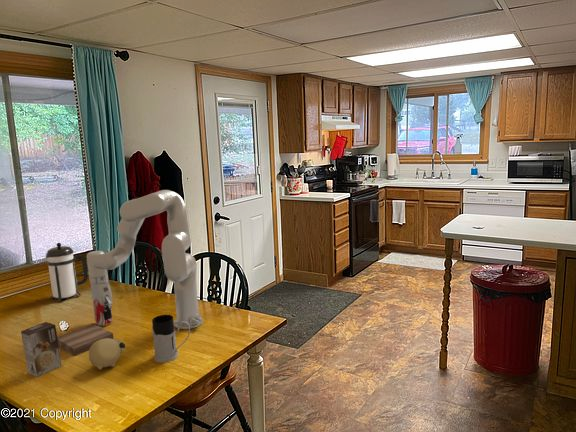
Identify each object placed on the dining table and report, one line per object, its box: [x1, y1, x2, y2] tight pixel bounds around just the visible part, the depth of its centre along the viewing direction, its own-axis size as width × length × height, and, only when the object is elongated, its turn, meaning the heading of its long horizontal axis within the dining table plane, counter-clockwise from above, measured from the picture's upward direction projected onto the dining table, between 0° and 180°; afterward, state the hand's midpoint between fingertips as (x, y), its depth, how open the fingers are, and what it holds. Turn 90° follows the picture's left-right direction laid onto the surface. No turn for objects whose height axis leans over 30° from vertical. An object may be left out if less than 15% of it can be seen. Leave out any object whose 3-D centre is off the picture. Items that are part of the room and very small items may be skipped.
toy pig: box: [88, 338, 126, 370], centre depth 153 cm, size 10×12×11 cm
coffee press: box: [44, 242, 89, 303], centre depth 226 cm, size 17×16×30 cm
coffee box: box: [20, 321, 63, 378], centre depth 152 cm, size 9×6×16 cm
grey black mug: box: [151, 314, 191, 363], centre depth 158 cm, size 9×14×15 cm, turn 88°
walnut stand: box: [57, 323, 115, 357], centre depth 173 cm, size 16×16×3 cm
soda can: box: [92, 299, 113, 327], centre depth 190 cm, size 7×7×12 cm
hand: (103, 316), depth 191 cm, fingers closed on soda can, 6 cm apart
